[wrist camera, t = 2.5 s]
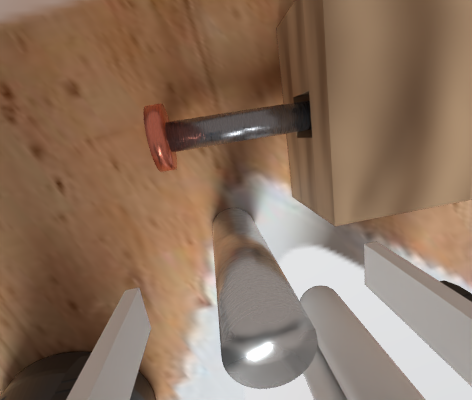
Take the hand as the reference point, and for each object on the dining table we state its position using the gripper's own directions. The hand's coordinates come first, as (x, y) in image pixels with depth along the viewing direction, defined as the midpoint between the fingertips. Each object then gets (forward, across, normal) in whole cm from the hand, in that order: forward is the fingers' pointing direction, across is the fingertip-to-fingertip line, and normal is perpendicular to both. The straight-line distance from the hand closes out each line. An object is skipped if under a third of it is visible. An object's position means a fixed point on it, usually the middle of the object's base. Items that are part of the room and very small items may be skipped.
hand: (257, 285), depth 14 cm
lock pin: (+8, +2, +9) cm, 12 cm away
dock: (+10, +14, +9) cm, 20 cm away
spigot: (+10, 0, 0) cm, 10 cm away
